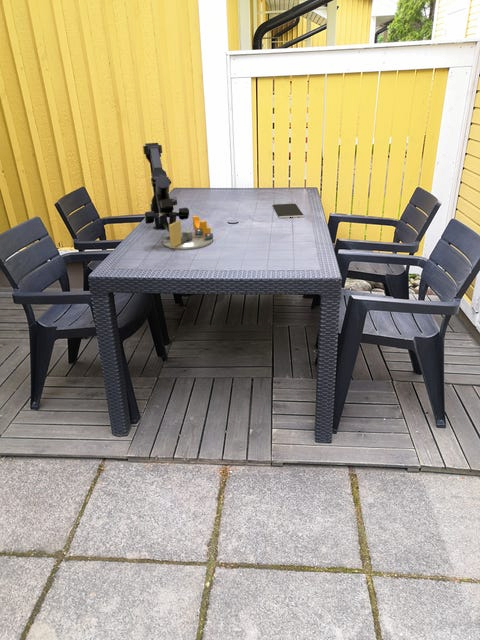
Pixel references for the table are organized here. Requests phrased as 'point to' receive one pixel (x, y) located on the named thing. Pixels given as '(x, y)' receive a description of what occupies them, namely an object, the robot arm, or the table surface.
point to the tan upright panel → (178, 234)
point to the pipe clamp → (200, 225)
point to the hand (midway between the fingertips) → (170, 233)
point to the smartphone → (287, 211)
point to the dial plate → (192, 241)
